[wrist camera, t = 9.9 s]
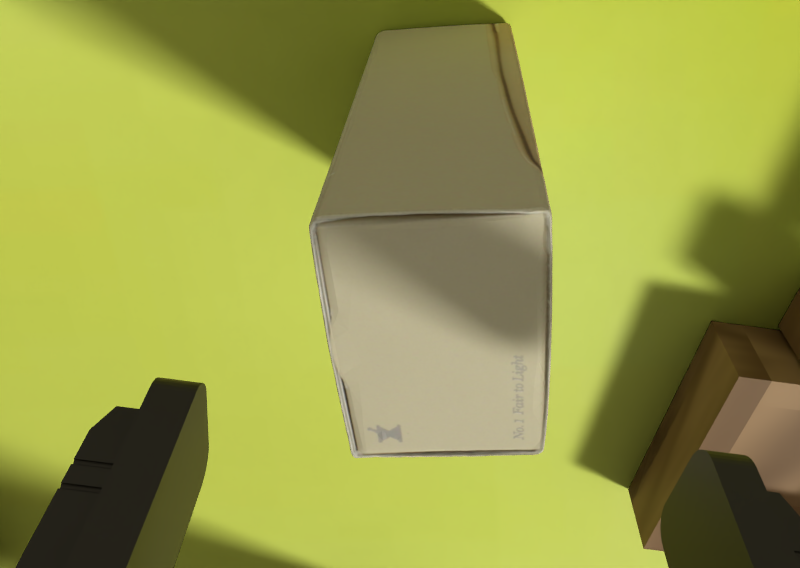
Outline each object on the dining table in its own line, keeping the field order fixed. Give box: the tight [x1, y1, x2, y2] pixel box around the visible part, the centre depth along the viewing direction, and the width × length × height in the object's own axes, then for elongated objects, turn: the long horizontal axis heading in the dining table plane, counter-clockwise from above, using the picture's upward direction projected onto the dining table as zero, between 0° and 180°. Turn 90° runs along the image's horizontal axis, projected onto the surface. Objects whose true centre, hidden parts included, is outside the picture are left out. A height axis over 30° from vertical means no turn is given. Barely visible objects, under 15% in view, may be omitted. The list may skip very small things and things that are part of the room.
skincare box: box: [309, 23, 552, 458], centre depth 19 cm, size 6×4×12 cm
